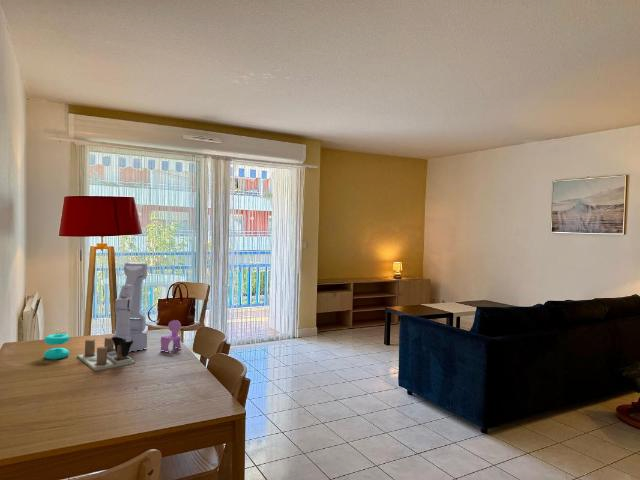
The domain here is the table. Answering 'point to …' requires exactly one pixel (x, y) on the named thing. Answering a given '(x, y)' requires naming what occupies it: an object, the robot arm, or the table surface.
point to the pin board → (102, 355)
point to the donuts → (56, 352)
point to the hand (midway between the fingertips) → (121, 354)
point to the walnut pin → (120, 354)
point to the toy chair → (171, 336)
